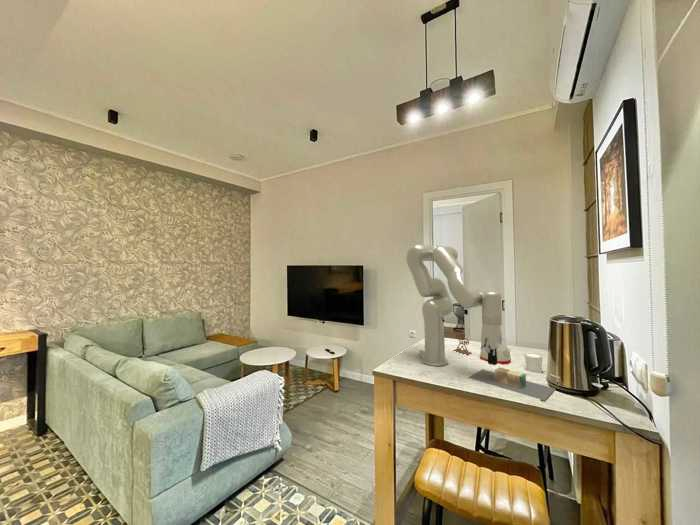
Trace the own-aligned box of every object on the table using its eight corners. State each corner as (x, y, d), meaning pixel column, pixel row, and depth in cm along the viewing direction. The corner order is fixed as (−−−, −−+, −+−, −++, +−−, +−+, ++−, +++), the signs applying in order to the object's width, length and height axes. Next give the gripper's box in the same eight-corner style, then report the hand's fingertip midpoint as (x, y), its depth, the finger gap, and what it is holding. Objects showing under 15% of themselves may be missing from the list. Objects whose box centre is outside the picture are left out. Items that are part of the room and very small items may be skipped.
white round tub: (530, 367, 135) (530, 352, 135) (546, 372, 128) (545, 356, 129) (521, 369, 132) (521, 354, 132) (536, 374, 126) (536, 358, 126)
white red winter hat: (474, 359, 147) (474, 330, 147) (488, 353, 155) (488, 326, 155) (502, 366, 136) (502, 335, 136) (515, 360, 144) (515, 330, 144)
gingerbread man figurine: (471, 354, 155) (471, 332, 155) (467, 355, 153) (467, 333, 153) (457, 350, 163) (457, 329, 163) (453, 351, 160) (452, 330, 160)
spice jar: (494, 370, 119) (521, 376, 111) (499, 367, 122) (525, 373, 114) (495, 380, 119) (521, 388, 111) (499, 377, 122) (525, 385, 114)
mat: (467, 378, 122) (467, 377, 122) (482, 370, 132) (482, 369, 132) (544, 401, 101) (544, 400, 101) (555, 389, 111) (555, 388, 111)
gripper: (490, 317, 129) (491, 357, 129) (474, 322, 119) (475, 366, 119) (508, 319, 124) (508, 362, 124) (493, 324, 114) (494, 371, 114)
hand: (492, 363), depth 121 cm, fingers closed
